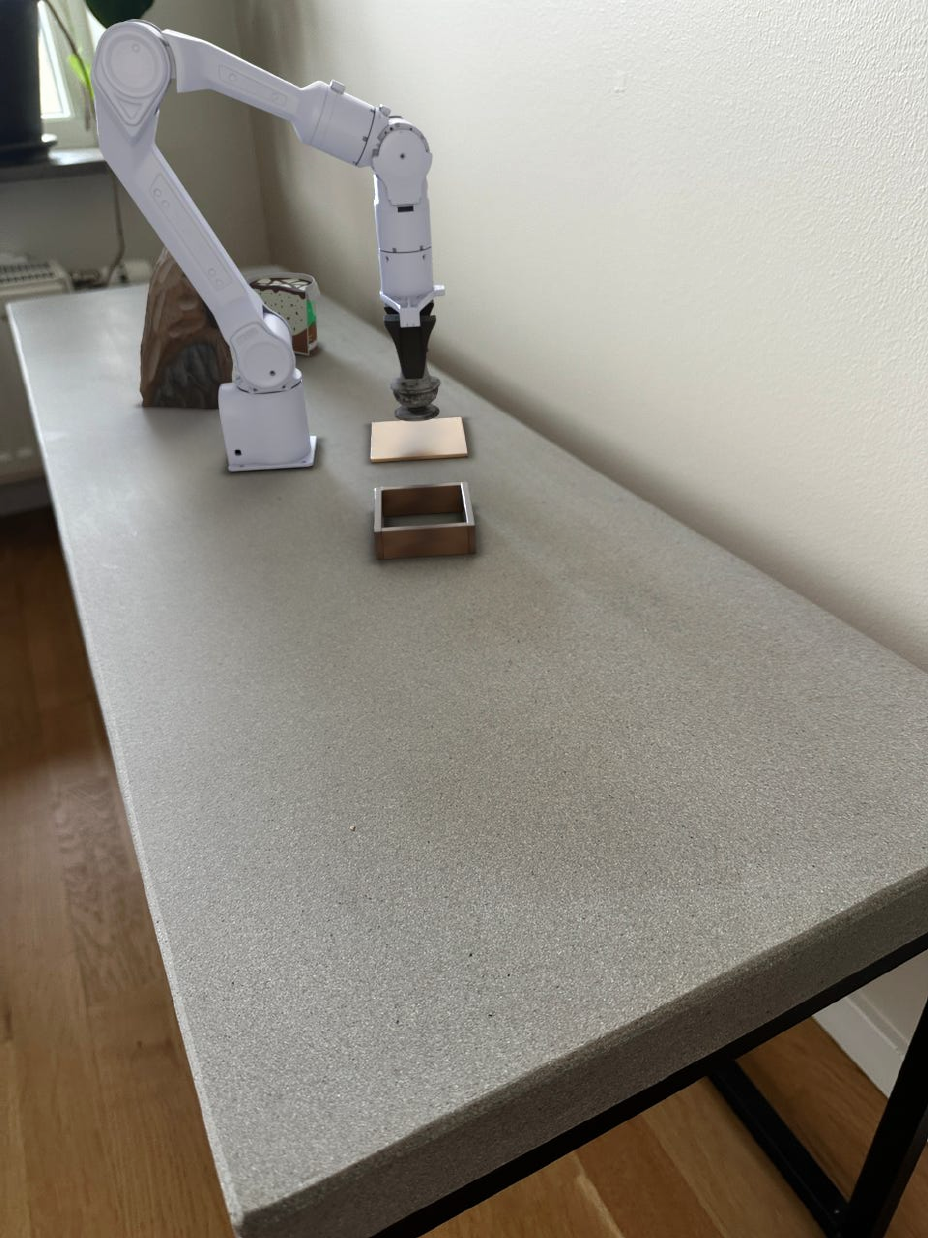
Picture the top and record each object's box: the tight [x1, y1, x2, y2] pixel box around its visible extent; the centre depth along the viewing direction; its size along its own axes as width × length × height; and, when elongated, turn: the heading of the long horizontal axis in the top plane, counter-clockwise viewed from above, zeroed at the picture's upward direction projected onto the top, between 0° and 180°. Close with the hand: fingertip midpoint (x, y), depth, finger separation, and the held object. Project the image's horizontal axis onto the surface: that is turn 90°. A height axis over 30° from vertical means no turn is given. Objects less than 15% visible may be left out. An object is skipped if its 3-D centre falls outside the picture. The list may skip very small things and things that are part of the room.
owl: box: [139, 245, 234, 410], centre depth 124 cm, size 13×13×20 cm
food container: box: [246, 272, 321, 357], centre depth 143 cm, size 12×6×10 cm, turn 58°
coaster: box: [370, 416, 469, 463], centre depth 113 cm, size 11×11×1 cm
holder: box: [373, 481, 477, 561], centre depth 94 cm, size 9×9×3 cm
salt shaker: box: [388, 347, 442, 422], centre depth 108 cm, size 6×6×12 cm
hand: (413, 372), depth 109 cm, fingers closed on salt shaker, 3 cm apart
